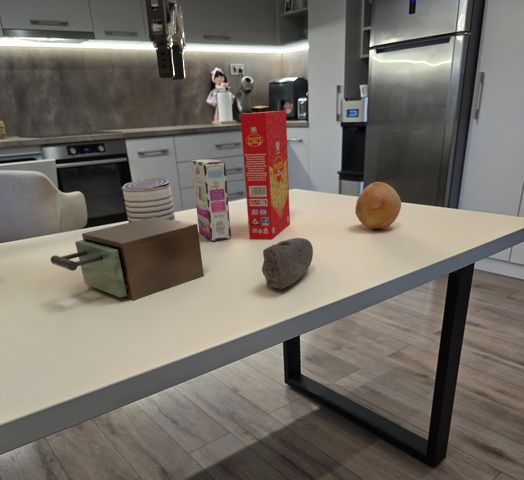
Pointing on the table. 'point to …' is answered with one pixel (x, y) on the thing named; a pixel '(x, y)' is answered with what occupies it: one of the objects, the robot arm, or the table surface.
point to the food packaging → (266, 172)
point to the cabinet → (154, 253)
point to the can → (148, 199)
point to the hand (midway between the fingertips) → (173, 79)
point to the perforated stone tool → (286, 262)
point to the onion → (378, 205)
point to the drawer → (97, 266)
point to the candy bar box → (211, 198)
